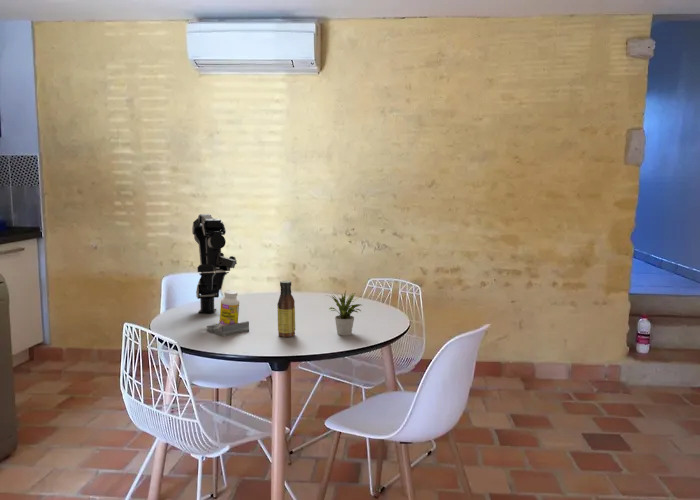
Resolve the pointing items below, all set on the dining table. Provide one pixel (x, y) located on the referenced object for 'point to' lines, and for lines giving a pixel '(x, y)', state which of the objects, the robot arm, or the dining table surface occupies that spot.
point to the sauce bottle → (286, 311)
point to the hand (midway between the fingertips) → (215, 290)
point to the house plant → (345, 315)
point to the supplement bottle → (229, 308)
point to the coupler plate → (229, 328)
